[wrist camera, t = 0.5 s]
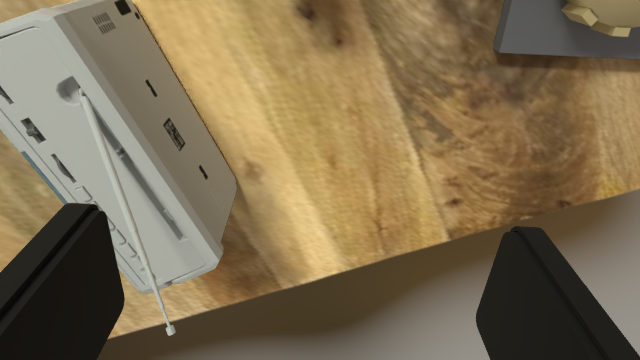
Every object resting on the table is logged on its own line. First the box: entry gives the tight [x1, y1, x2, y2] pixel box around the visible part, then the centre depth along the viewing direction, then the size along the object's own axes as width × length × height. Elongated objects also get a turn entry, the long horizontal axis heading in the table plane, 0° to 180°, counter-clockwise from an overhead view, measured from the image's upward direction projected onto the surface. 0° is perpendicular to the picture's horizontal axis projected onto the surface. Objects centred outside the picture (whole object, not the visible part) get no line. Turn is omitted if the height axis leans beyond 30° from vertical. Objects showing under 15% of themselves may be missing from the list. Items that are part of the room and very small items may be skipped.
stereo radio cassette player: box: [0, 0, 237, 336], centre depth 31 cm, size 21×8×20 cm, turn 22°
